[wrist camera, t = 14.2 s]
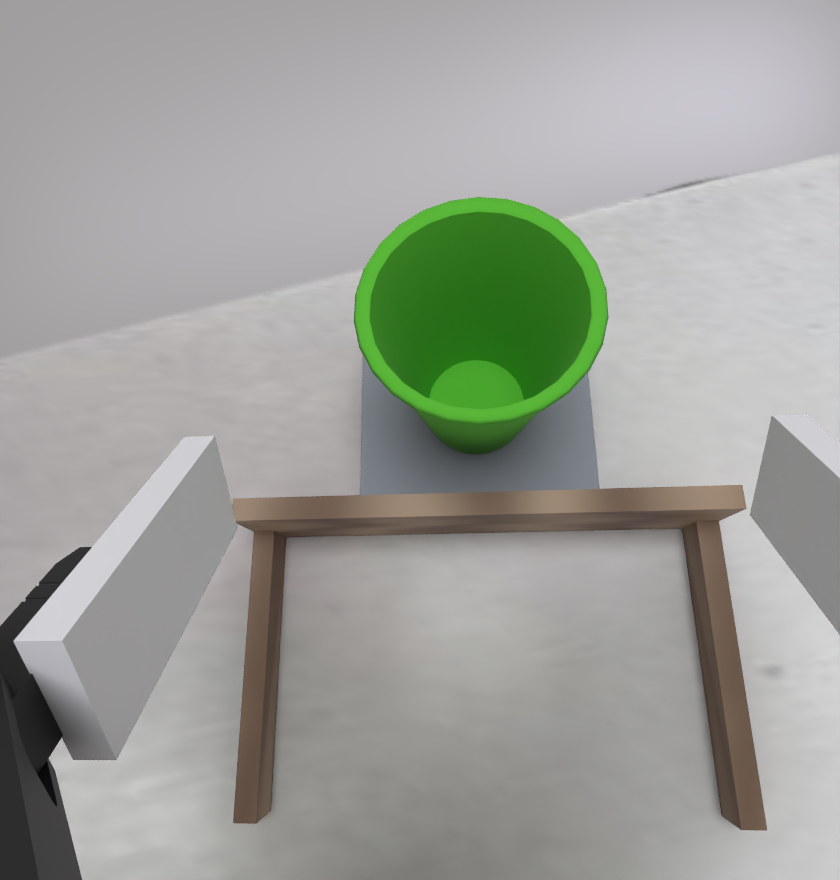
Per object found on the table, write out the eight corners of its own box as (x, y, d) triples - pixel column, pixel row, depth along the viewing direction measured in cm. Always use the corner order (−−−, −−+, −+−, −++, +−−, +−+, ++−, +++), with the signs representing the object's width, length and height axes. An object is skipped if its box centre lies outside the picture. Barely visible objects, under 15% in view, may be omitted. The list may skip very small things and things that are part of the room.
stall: (249, 810, 28) (204, 846, 23) (268, 518, 32) (232, 498, 27) (745, 816, 27) (806, 856, 22) (700, 508, 31) (742, 485, 26)
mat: (362, 506, 32) (360, 503, 31) (365, 333, 35) (363, 326, 34) (596, 500, 31) (600, 497, 30) (579, 323, 34) (582, 316, 33)
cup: (530, 518, 30) (562, 460, 20) (363, 455, 32) (311, 371, 21) (585, 361, 33) (641, 234, 22) (427, 310, 34) (409, 168, 24)
